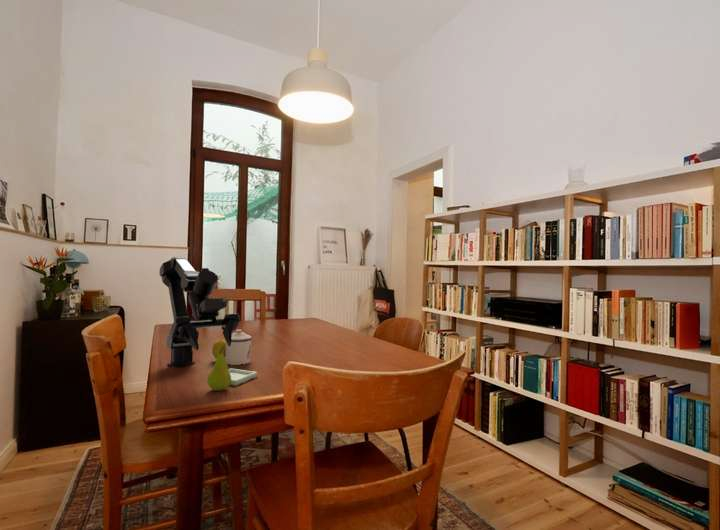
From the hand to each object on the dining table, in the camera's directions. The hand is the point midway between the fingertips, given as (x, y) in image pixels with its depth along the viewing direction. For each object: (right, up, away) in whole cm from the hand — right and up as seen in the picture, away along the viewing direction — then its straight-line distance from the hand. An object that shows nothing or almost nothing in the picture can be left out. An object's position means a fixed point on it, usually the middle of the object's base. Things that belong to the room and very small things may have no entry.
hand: (214, 347), depth 106 cm
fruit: (+3, -11, -3) cm, 12 cm away
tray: (+3, -11, +7) cm, 13 cm away
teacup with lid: (-3, -12, +28) cm, 30 cm away
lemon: (-9, -11, +28) cm, 32 cm away
